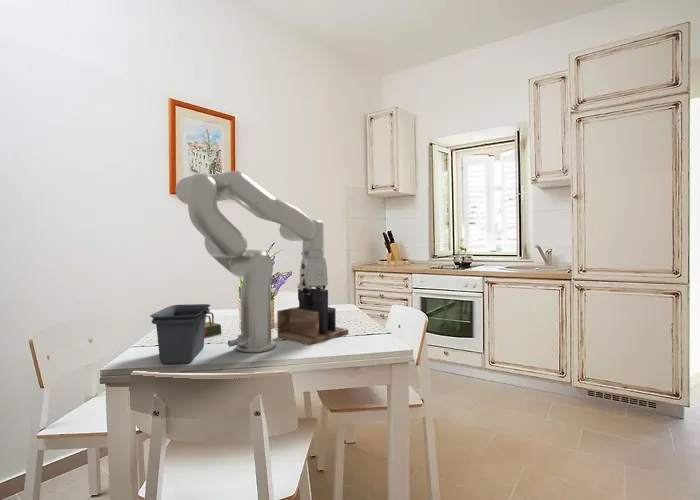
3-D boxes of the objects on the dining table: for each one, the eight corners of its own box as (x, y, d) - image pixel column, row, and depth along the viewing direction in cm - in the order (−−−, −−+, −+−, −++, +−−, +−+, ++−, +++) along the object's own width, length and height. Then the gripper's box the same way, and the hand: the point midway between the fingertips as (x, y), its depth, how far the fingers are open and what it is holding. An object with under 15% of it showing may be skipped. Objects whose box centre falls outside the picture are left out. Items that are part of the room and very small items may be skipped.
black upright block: (329, 331, 149) (329, 289, 149) (322, 333, 146) (322, 290, 145) (305, 327, 155) (305, 287, 155) (297, 329, 152) (297, 288, 151)
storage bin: (171, 347, 136) (169, 303, 136) (219, 345, 138) (219, 302, 138) (147, 368, 115) (146, 317, 115) (205, 365, 117) (204, 315, 116)
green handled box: (168, 340, 147) (167, 328, 147) (209, 332, 159) (209, 320, 159) (180, 344, 141) (179, 331, 141) (221, 335, 154) (221, 323, 153)
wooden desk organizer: (309, 344, 138) (308, 314, 138) (277, 337, 148) (277, 309, 148) (348, 333, 153) (348, 306, 153) (317, 327, 164) (317, 301, 163)
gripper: (302, 255, 141) (303, 309, 141) (336, 254, 153) (336, 303, 154) (288, 255, 145) (288, 307, 146) (322, 253, 158) (322, 301, 159)
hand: (313, 304), depth 150 cm, fingers closed on black upright block, 4 cm apart
